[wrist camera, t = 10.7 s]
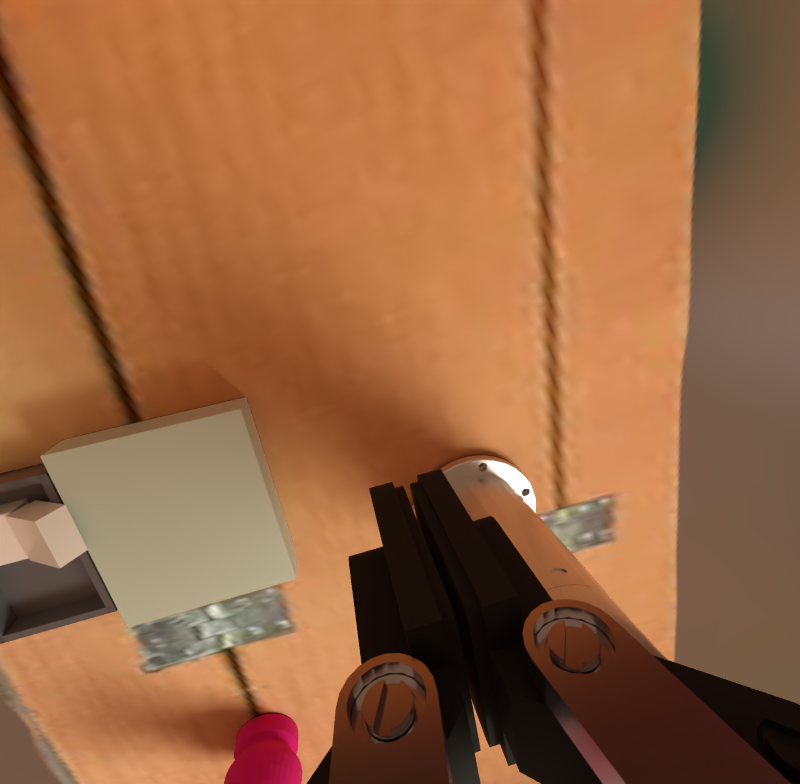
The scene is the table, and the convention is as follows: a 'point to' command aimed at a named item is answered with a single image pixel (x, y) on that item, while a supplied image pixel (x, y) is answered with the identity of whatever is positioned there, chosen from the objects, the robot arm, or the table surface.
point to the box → (45, 573)
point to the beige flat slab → (176, 509)
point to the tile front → (47, 533)
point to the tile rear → (10, 535)
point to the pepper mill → (266, 752)
